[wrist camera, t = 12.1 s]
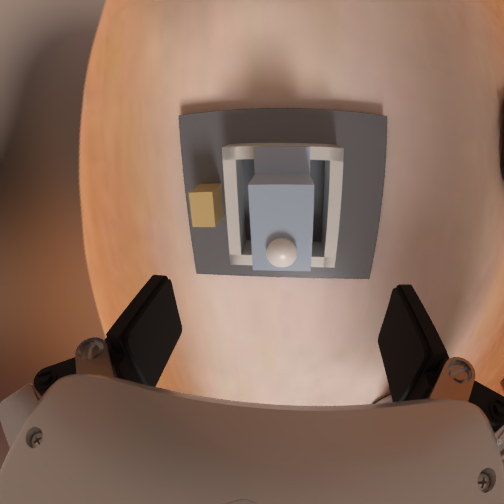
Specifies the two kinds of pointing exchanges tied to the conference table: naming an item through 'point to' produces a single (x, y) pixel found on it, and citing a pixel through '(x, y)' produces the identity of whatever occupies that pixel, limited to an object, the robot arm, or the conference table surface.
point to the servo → (281, 208)
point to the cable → (503, 159)
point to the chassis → (322, 173)
